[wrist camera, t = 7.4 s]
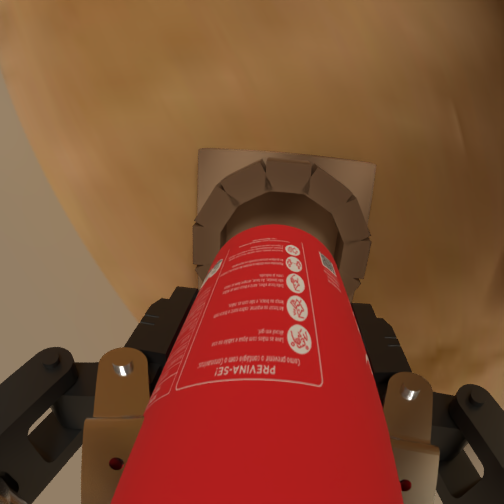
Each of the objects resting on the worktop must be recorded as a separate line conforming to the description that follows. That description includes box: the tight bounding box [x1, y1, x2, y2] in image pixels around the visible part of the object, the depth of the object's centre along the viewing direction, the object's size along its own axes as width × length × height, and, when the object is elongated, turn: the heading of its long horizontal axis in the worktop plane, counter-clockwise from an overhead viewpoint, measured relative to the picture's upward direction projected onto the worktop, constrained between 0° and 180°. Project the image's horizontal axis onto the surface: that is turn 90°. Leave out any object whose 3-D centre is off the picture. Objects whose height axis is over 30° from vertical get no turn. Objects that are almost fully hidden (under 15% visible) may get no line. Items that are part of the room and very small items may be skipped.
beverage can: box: [110, 224, 404, 504], centre depth 8 cm, size 5×5×12 cm
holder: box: [193, 148, 376, 303], centre depth 18 cm, size 10×10×3 cm
